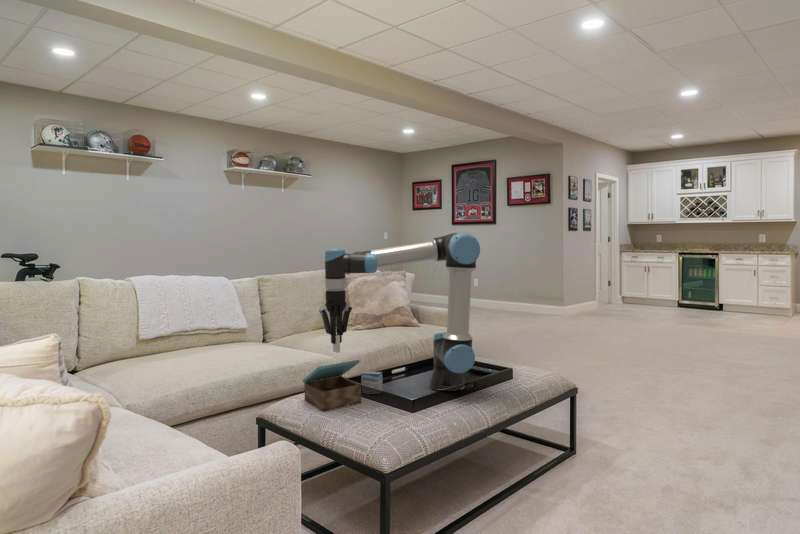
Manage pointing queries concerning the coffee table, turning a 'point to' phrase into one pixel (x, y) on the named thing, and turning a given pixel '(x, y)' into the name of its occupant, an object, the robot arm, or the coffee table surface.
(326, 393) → the crate
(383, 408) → the coffee table surface
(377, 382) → the medicine box
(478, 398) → the coffee table surface
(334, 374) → the lid
